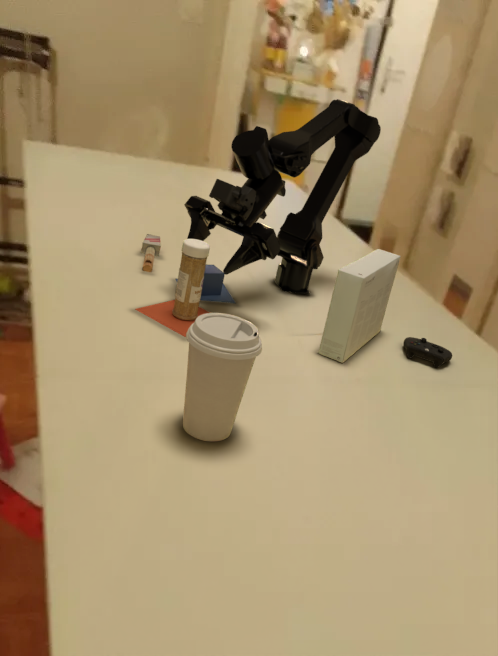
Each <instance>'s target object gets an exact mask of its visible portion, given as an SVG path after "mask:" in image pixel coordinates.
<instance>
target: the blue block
mask: <svg viewBox="0 0 498 656" xmlns="http://www.w3.org/2000/svg"><path fill="white" fill-rule="evenodd" d="M225 275H226V274H224V272H223V270H221V269H220V268H218V267H217V266H216V265H215V264H206V266H205V272H204V280H203V286H202V291H201V295H221V291H222V285H223V284H224V280H225Z"/></svg>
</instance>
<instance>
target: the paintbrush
mask: <svg viewBox="0 0 498 656" xmlns="http://www.w3.org/2000/svg"><path fill="white" fill-rule="evenodd" d="M161 247H162V245H161V236H159V235H155V234H149V233H147V234H146V236H145V237H144V239H143V241H142V244H141V250H140V254H144V259H143V264H142V271H143V272H147V273H152V272H153V267H154V260H155V257H160V251H161Z"/></svg>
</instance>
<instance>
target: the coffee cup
mask: <svg viewBox="0 0 498 656" xmlns="http://www.w3.org/2000/svg"><path fill="white" fill-rule="evenodd" d="M185 338H186V340H187V342H188V352H187V367H186V379H185V382H186V383H185V392H184V403H183V415H182V428H183V430H184V431H185V433H187V434H188V435H189V436H191V437H192V438H195V439H197V440H200V441H205V442H221V441H224V440H226V439H227V438H229V437H230V435H231V433H232V430H233V428H234V425H235V422H236V418H237V415H238V412H239V410H240V406H241V403H242V400H243V397H244V393H245V390H246V388H247V385H248V381H249V379H250V376H251V372H252V370H253V366H254V363H255V360H256V358H257V357H258V356H259V355H260V354H261V353H262V351H263V343H262V339H261V337H260V332H259V329H258V327H257V326H256V325H255V324H254V323H252V322H251V321H249V320H247V319H245V318H243V317H240V316H238V315H234V314H229V313H224V312H210V313H206V314H202V315H200V316H198V317H197V318H196V320H195V322H194V323H193V324H192V325H191V326H190V327H189V329H188V331H187V333H186V337H185Z"/></svg>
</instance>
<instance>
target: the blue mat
mask: <svg viewBox="0 0 498 656" xmlns="http://www.w3.org/2000/svg"><path fill="white" fill-rule="evenodd" d="M175 281H176V282H177V281H178V278H175ZM200 301H203V302H214V303H223V304H224V303H226V304H237V303H236V300H235V299H234V297H233V296H232V294H231V292H230V291H229V290H228V288H227V287H226V285H225V284H224V283H223V285H222V291H221V295H201V298H200Z"/></svg>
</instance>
